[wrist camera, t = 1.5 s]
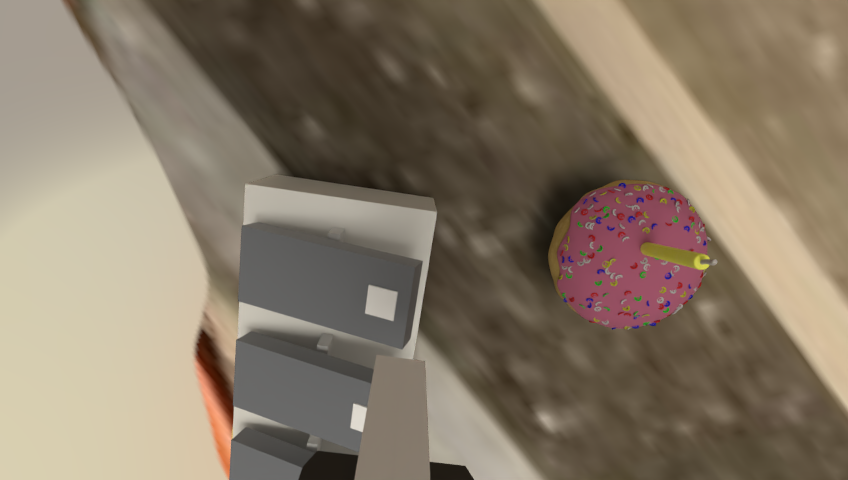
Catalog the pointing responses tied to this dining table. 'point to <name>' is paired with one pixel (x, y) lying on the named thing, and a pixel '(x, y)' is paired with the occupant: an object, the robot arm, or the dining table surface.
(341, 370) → the block
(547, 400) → the dining table surface
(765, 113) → the dining table surface
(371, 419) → the robot arm
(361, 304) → the rocker
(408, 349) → the switch unit
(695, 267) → the cupcake
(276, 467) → the rocker
